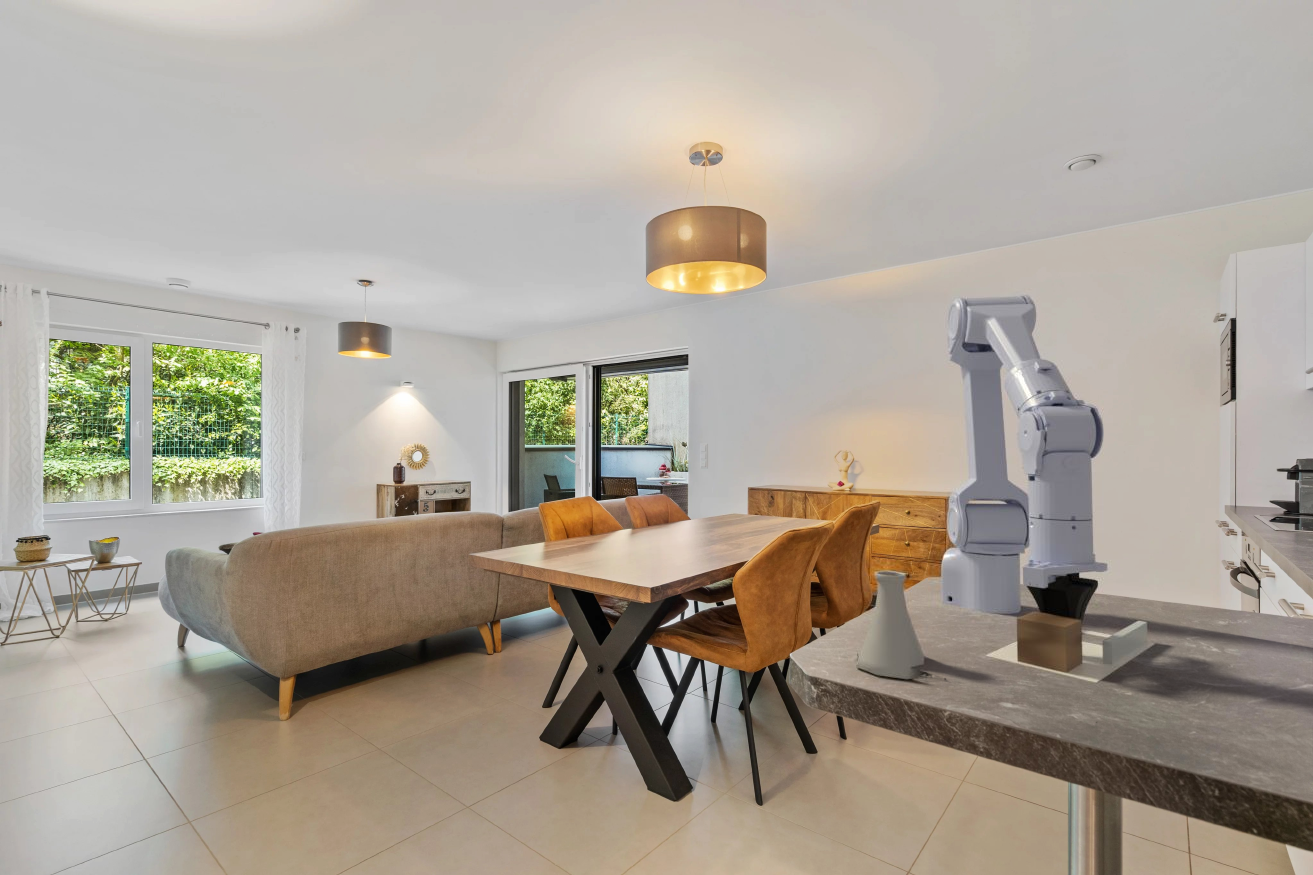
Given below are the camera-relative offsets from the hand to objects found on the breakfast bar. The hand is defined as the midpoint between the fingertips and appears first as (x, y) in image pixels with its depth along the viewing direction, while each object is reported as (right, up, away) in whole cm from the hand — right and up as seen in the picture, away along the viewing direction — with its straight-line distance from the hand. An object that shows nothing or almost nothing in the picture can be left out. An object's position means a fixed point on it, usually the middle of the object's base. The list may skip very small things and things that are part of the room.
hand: (1062, 646), depth 66 cm
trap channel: (+2, -2, +2) cm, 4 cm away
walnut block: (-3, -1, -2) cm, 4 cm away
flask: (-18, -2, 0) cm, 18 cm away
